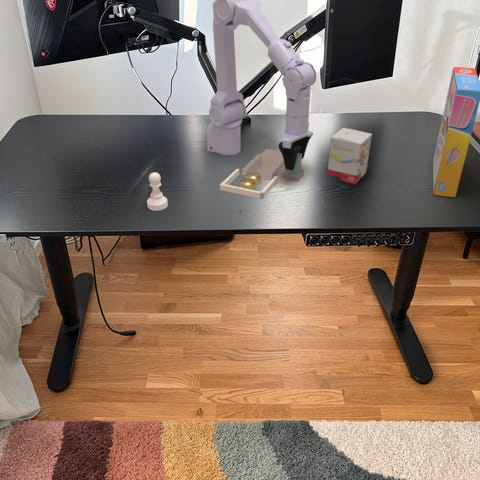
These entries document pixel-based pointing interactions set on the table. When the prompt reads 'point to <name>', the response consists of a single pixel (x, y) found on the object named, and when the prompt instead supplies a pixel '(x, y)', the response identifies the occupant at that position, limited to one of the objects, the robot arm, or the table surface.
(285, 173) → the teal and gray box
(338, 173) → the ink box
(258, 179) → the gold knob
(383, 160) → the table surface
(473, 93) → the game box
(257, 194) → the tray
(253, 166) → the slotted rail
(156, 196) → the chess pawn
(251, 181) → the gold round piece
